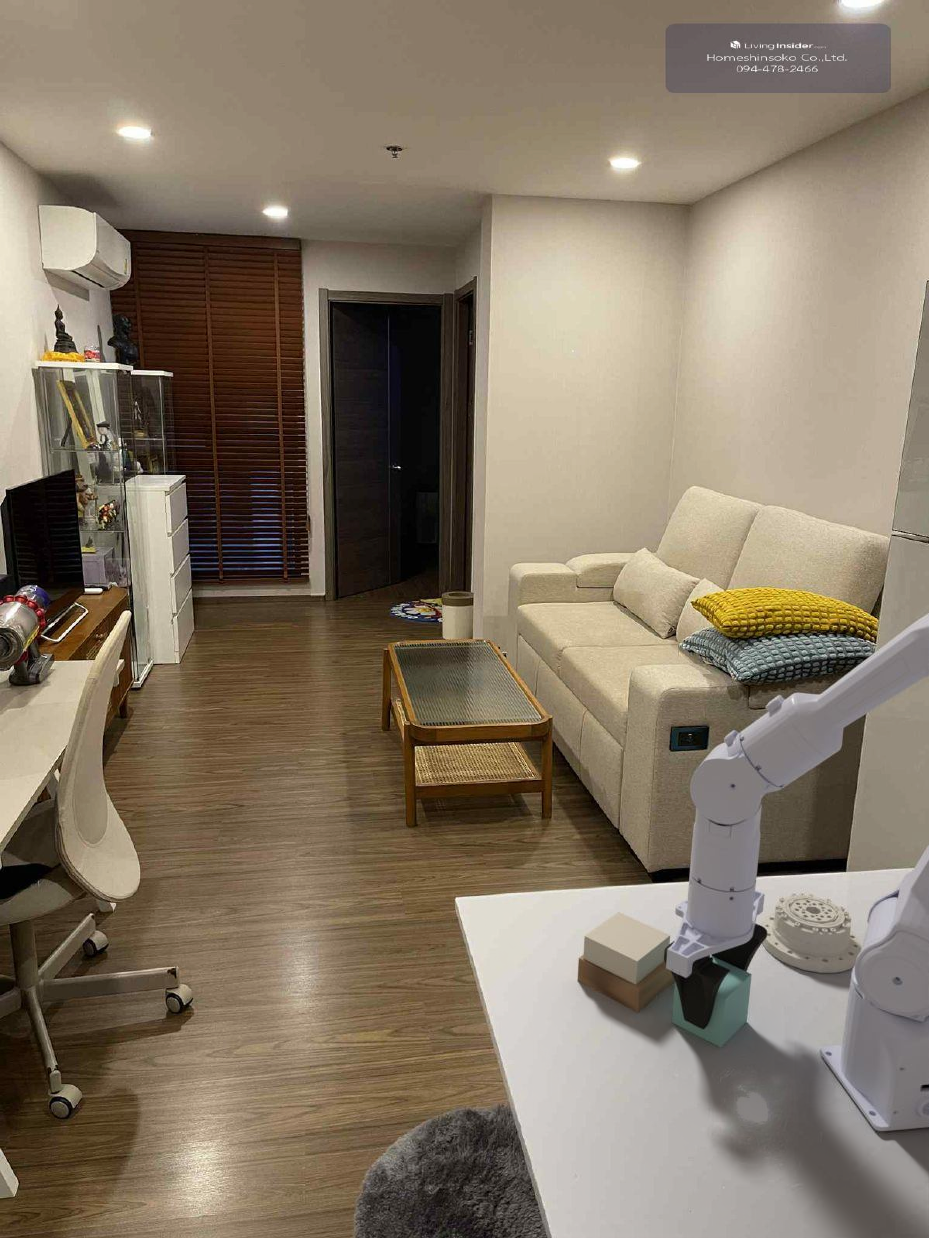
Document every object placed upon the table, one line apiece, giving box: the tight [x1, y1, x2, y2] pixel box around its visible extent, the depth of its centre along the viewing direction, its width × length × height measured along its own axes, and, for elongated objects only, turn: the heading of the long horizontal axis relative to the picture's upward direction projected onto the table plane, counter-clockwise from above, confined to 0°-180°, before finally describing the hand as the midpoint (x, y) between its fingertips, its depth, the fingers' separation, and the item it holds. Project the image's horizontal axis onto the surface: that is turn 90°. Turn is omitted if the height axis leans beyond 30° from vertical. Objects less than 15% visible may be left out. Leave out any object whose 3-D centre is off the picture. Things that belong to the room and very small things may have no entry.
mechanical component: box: [760, 892, 862, 974], centre depth 99 cm, size 10×4×10 cm
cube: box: [671, 955, 753, 1049], centre depth 86 cm, size 5×5×5 cm
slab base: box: [577, 955, 675, 1013], centre depth 93 cm, size 7×7×3 cm
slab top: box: [582, 911, 671, 985], centre depth 92 cm, size 6×6×2 cm
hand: (710, 1008), depth 87 cm, fingers closed on cube, 5 cm apart
